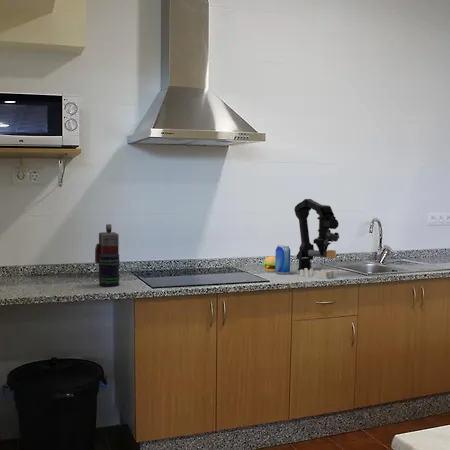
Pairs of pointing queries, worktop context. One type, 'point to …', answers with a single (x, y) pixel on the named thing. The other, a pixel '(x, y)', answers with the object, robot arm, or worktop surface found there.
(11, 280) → the worktop surface
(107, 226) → the thermos flask
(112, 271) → the storage jar
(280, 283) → the worktop surface
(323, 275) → the cream arch-shaped block
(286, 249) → the beer can
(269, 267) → the hamburger
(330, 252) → the stamp-like rod
